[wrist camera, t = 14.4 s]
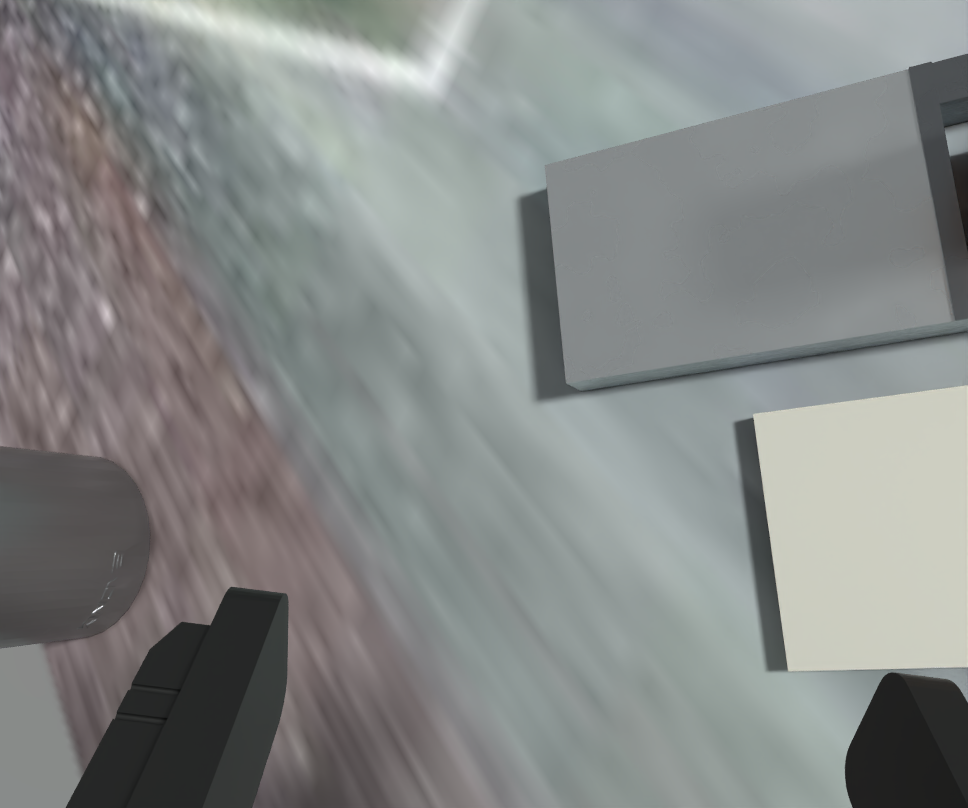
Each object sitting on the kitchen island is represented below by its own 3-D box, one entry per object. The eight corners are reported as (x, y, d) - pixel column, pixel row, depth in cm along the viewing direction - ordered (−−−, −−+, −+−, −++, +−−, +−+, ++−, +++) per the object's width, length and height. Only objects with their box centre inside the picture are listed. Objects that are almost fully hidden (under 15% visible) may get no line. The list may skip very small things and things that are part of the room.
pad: (789, 668, 30) (788, 671, 30) (755, 416, 32) (753, 413, 31) (1092, 660, 27) (1098, 664, 26) (1036, 379, 29) (1040, 375, 28)
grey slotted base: (581, 391, 35) (564, 382, 33) (560, 183, 36) (543, 164, 35) (1439, 258, 25) (1488, 234, 23) (1357, -19, 27) (1396, -62, 25)
